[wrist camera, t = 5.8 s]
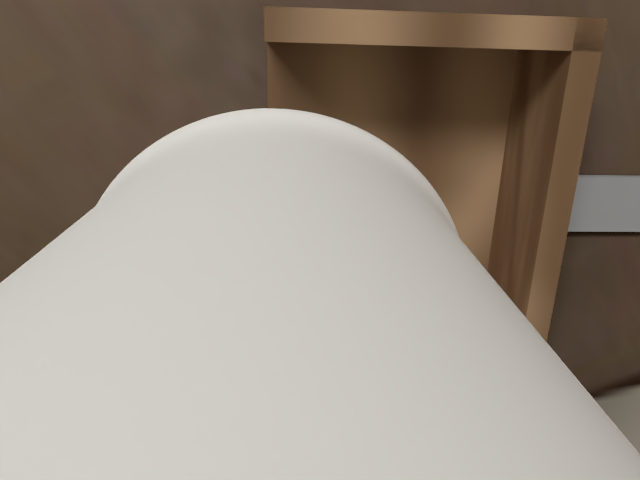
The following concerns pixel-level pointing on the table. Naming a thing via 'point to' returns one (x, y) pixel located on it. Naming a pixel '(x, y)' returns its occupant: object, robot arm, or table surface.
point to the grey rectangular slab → (606, 204)
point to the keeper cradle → (460, 117)
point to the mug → (281, 328)
